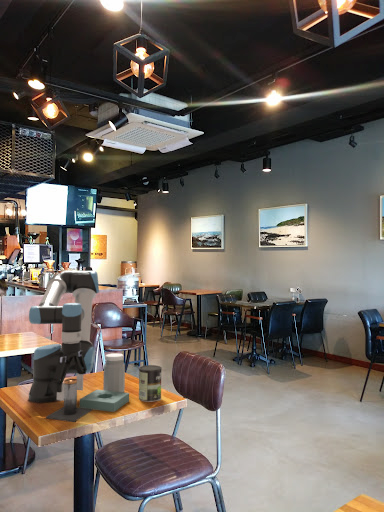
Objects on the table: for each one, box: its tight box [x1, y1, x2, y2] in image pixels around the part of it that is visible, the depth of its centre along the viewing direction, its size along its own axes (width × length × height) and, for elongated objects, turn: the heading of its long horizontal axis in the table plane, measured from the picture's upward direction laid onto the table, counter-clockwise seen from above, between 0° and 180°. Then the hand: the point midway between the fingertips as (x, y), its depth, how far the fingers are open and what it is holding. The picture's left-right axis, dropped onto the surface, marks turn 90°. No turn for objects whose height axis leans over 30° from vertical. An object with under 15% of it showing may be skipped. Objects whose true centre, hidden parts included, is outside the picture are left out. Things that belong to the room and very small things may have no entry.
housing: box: [79, 389, 130, 413], centre depth 174 cm, size 16×14×4 cm
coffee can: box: [138, 364, 163, 403], centre depth 183 cm, size 10×10×14 cm
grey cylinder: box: [63, 378, 78, 415], centre depth 163 cm, size 5×5×13 cm
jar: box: [102, 352, 126, 393], centre depth 190 cm, size 10×10×18 cm
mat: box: [45, 406, 94, 423], centre depth 162 cm, size 13×13×1 cm
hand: (70, 394), depth 163 cm, fingers open, 13 cm apart
